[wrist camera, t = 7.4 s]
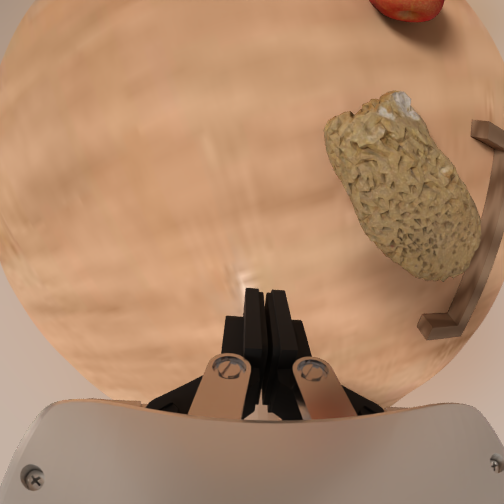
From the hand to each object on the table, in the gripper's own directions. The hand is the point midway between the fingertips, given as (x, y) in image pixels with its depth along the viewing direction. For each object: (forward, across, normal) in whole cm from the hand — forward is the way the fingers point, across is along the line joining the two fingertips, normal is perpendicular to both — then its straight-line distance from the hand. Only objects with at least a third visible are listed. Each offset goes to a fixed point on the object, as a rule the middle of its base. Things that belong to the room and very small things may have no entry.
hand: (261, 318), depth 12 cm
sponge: (+15, -15, -5) cm, 22 cm away
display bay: (+15, -26, -2) cm, 30 cm away
